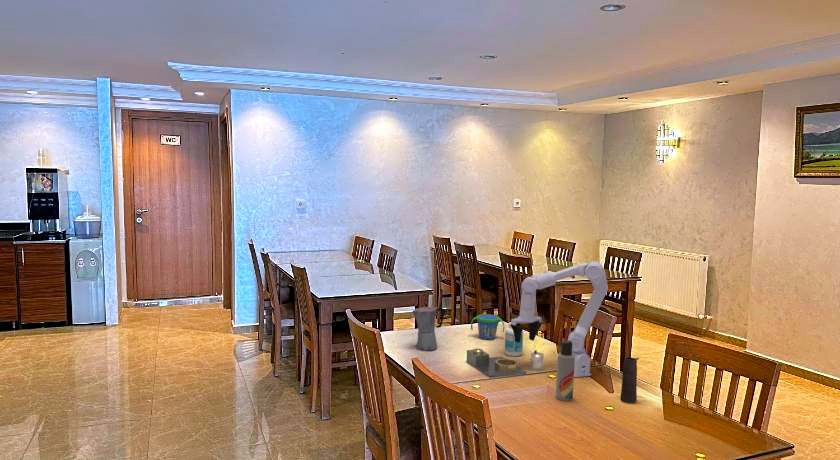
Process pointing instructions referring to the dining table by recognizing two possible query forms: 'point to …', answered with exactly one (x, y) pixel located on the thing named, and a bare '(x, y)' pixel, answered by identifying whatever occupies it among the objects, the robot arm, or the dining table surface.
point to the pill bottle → (512, 343)
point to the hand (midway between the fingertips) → (524, 340)
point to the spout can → (537, 361)
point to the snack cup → (487, 325)
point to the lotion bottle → (565, 372)
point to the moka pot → (427, 326)
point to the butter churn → (629, 377)
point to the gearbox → (493, 364)
